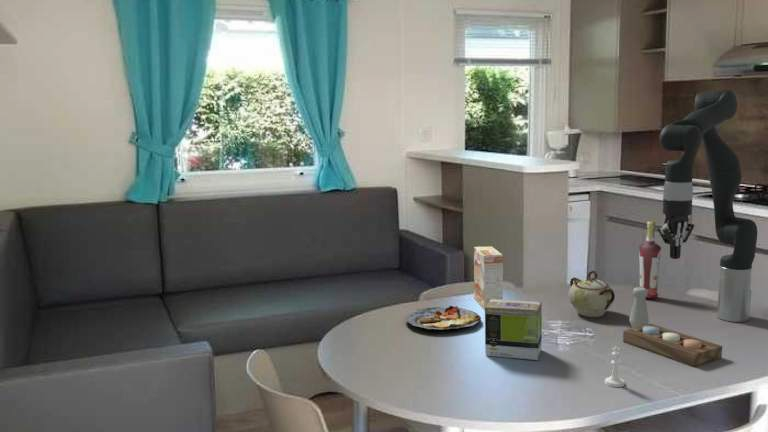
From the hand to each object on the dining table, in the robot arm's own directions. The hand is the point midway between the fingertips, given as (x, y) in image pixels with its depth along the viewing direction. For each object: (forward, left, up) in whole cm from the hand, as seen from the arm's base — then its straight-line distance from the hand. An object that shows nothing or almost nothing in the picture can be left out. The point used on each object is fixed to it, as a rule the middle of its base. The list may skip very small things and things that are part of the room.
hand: (674, 258), depth 198 cm
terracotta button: (0, +7, -26) cm, 27 cm away
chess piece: (+32, +8, -27) cm, 43 cm away
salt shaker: (-8, -18, -27) cm, 34 cm away
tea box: (+39, -23, -27) cm, 53 cm away
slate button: (0, -7, -26) cm, 27 cm away
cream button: (0, 0, -26) cm, 26 cm away
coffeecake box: (+14, -66, -27) cm, 73 cm away
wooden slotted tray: (0, 0, -27) cm, 27 cm away
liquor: (-38, -39, -27) cm, 61 cm away
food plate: (+40, -57, -28) cm, 75 cm away
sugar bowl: (-7, -37, -27) cm, 46 cm away
